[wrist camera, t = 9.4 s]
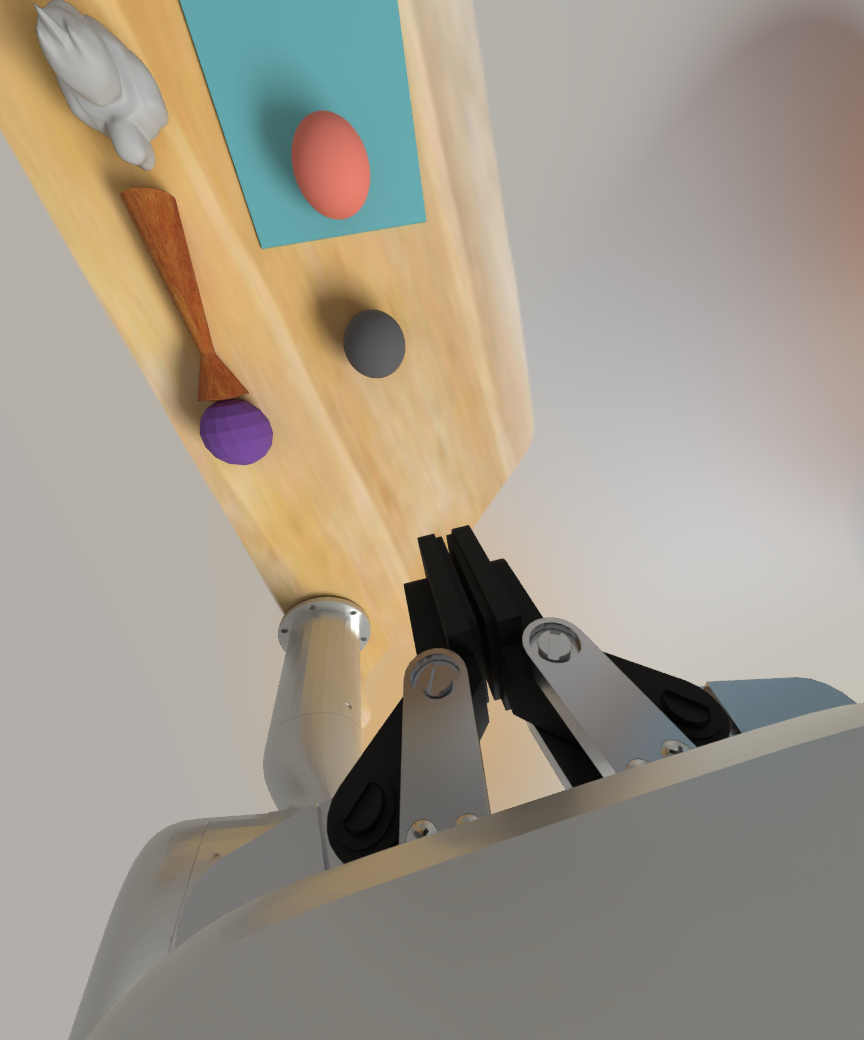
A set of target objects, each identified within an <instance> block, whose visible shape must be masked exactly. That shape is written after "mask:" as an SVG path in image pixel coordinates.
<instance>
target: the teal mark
mask: <svg viewBox="0 0 864 1040" xmlns="http://www.w3.org/2000/svg"><path fill="white" fill-rule="evenodd" d="M180 3H181V6H182V9H183V12H184V15H185V18H186V21H187V24H188V27H189V30H190V33H191V36H192V39H193V42H194V45H195V48H196V51H197V54H198V57H199V60H200V63H201V66H202V69H203V72H204V75H205V78H206V81H207V84H208V87H209V90H210V93H211V96H212V99H213V102H214V105H215V108H216V111H217V114H218V117H219V120H220V123H221V126H222V129H223V132H224V135H225V138H226V141H227V144H228V147H229V150H230V153H231V156H232V159H233V163H234V166H235V169H236V172H237V175H238V178H239V181H240V184H241V187H242V190H243V193H244V196H245V199H246V202H247V205H248V208H249V211H250V214H251V217H252V220H253V223H254V226H255V229H256V232H257V235H258V238H259V241H260V244H261V247H262V249H265V248H271V247H277V246H283V245H289V244H295V243H301V242H307V241H313V240H319V239H325V238H331V237H337V236H343V235H349V234H355V233H362V232H368V231H374V230H380V229H386V228H392V227H398V226H404V225H410V224H416V223H422V222H426V215H425V208H424V200H423V193H422V185H421V177H420V170H419V162H418V155H417V147H416V139H415V132H414V124H413V117H412V109H411V101H410V94H409V86H408V78H407V71H406V63H405V56H404V48H403V40H402V33H401V25H400V18H399V10H398V2H397V0H180ZM323 110H324V111H330V112H333V113H336V114H338V115H340V116H341V117H343V118H344V119H345V120H346V121H348V122H349V123H350V124H351V126H352V127H353V128H354V129H355V130H356V132H357V133H358V135H359V137H360V138H361V140H362V142H363V144H364V147H365V149H366V152H367V156H368V160H369V166H370V186H369V192H368V195H367V198H366V200H365V203H364V204H363V206H362V207H361V209H360V210H359V211H358V212H357V213H356V214H354V215H353V216H351V217H349V218H347V219H341V220H336V219H331V218H328V217H326V216H324V215H322V214H320V213H319V212H318V211H316V210H315V209H314V208H313V207H312V206H311V205H310V204H309V203H308V201H307V200H306V199H305V197H304V196H303V194H302V192H301V190H300V188H299V186H298V184H297V181H296V178H295V175H294V171H293V166H292V142H293V138H294V134H295V132H296V129H297V127H298V125H299V124H300V123H301V121H302V120H303V119H304V118H305V117H306V116H307V115H309V114H311V113H313V112H316V111H323Z"/></svg>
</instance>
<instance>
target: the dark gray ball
mask: <svg viewBox="0 0 864 1040" xmlns="http://www.w3.org/2000/svg"><path fill="white" fill-rule="evenodd" d="M344 350H345V353H346V356H347V358H348V360H349V362H350V364H351V365H352V366H353V367H354V368H355V369H356V370H357V371H358V372H359V373H361V374H363V375H365V376H367V377H370V378H383V377H386V376H388V375H390V374H392V373H393V372H395V371H396V370H397V368H398V367H399V366H400V364H401V362H402V360H403V358H404V354H405V339H404V335H403V332H402V330H401V328H400V326H399V325H398V323H397V322H396V321H395V320H394V319H393V318H392V317H391V316H390V315H388V314H386V313H384V312H382V311H378V310H366V311H362V312H360V313H358V314H357V315H355V316H354V317H353V318H352V319H351V320H350V322H349V323H348V325H347V327H346V330H345V333H344Z"/></svg>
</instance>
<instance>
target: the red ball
mask: <svg viewBox="0 0 864 1040" xmlns="http://www.w3.org/2000/svg"><path fill="white" fill-rule="evenodd" d="M292 166H293V171H294V175H295V178H296V181H297V184H298V186H299V188H300V190H301V192H302V194H303V196H304V197H305V199H306V200H307V201H308V203H309V204H310V205H311V206H312V207H313V208H314V209H315V210H316V211H318V212H319V213H320V214H322V215H324V216H326V217H328V218H331V219H336V220H341V219H347V218H349V217H351V216H353V215H354V214H356V213H357V212H358V211H359V210H360V209H361V207H362V206H363V204H364V203H365V200H366V198H367V195H368V192H369V186H370V166H369V160H368V156H367V152H366V149H365V147H364V144H363V142H362V140H361V138H360V137H359V135H358V133H357V132H356V130H355V129H354V128H353V127H352V126H351V124H350V123H349V122H348V121H346V120H345V119H344V118H343V117H341V116H340V115H338V114H336V113H333V112H330V111H324V110H323V111H316V112H313V113H311V114H309V115H307V116H306V117H305V118H304V119H303V120H302V121H301V123H300V124H299V125H298V127H297V129H296V132H295V134H294V138H293V142H292Z"/></svg>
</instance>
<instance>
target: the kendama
mask: <svg viewBox="0 0 864 1040" xmlns="http://www.w3.org/2000/svg"><path fill="white" fill-rule="evenodd" d="M120 195H121V197H122V199H123V201H124V203H125V205H126V207H127V209H128V211H129V213H130V215H131V217H132V219H133V221H134V223H135V225H136V227H137V229H138V231H139V233H140V235H141V237H142V239H143V241H144V243H145V245H146V247H147V249H148V251H149V253H150V255H151V257H152V259H153V261H154V263H155V265H156V267H157V269H158V271H159V273H160V275H161V277H162V279H163V281H164V283H165V285H166V287H167V289H168V291H169V293H170V295H171V297H172V299H173V301H174V302H175V304H176V306H177V308H178V310H179V312H180V314H181V316H182V318H183V320H184V322H185V324H186V326H187V328H188V330H189V332H190V334H191V336H192V338H193V340H194V342H195V344H196V346H197V348H198V350H199V352H200V354H201V360H200V376H199V391H198V401H217V402H216V403H214V404H213V405H211V406H209V407H208V408H207V409H206V410H205V412H204V414H203V416H202V417H201V419H200V435H201V438H202V440H203V442H204V445H205V447H206V448H207V449H208V450H209V451H210V452H211V453H212V454H213V455H214V456H215V457H216V458H218V459H220V460H222V461H224V462H227V463H229V464H238V465H248V464H252V463H255V462H256V461H258V460H259V459H261V458H262V457H264V456H265V455H266V454H267V452H268V450H269V449H270V447H271V445H272V437H273V431H272V428H271V425H270V422H269V420H268V419H267V418H266V416H265V415H264V414H263V413H262V412H261V410H260V409H258V408H257V407H255V406H253V405H252V404H250V403H248V402H246V401H241V400H236V399H233V398H236V397H238V396H241V395H244V394H247V393H249V392H248V391H247V390H246V389H245V387H244V386H243V385H242V384H241V383H240V382H239V380H238V379H237V378H236V377H235V376H234V375H233V373H232V372H231V371H230V370H229V369H228V368H227V367H226V365H225V364H224V363H223V362H222V361H221V360H220V358H219V357H218V356H217V355H216V354H215V352H214V348H213V344H212V340H211V336H210V332H209V328H208V325H207V321H206V317H205V313H204V309H203V305H202V301H201V297H200V293H199V290H198V286H197V282H196V278H195V274H194V270H193V266H192V262H191V258H190V255H189V251H188V247H187V243H186V239H185V235H184V231H183V227H182V223H181V220H180V216H179V212H178V208H177V204H176V200H175V198H174V197H173V196H172V195H171V194H169V193H166V192H164V191H161V190H157V189H152V188H141V187H140V188H130V189H127V190H124V191H123V192H122V193H121V194H120Z"/></svg>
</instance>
